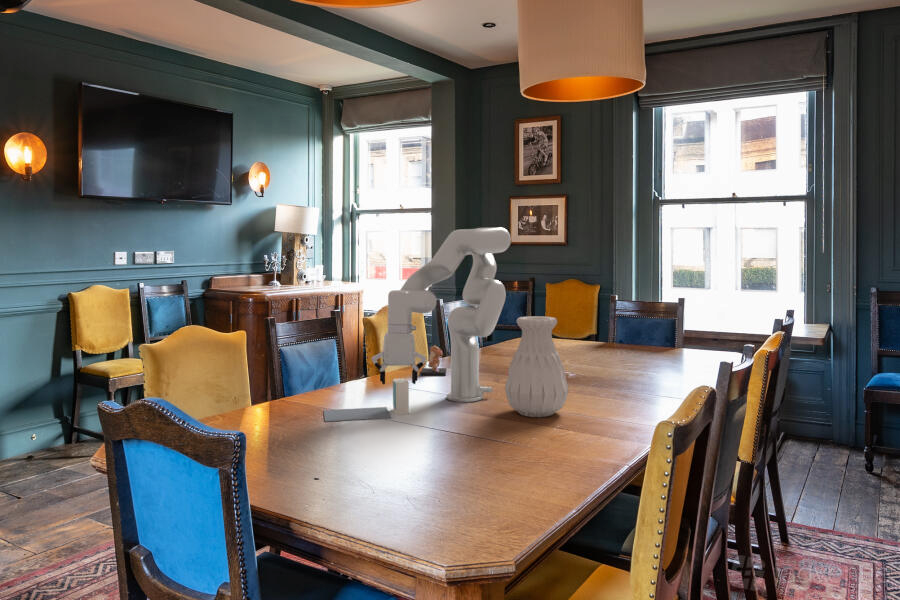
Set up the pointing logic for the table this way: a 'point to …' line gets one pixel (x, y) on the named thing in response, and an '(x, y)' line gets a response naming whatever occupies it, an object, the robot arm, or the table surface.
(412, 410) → the table surface
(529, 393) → the vase
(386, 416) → the slate mat
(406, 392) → the cream block
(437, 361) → the figurine
